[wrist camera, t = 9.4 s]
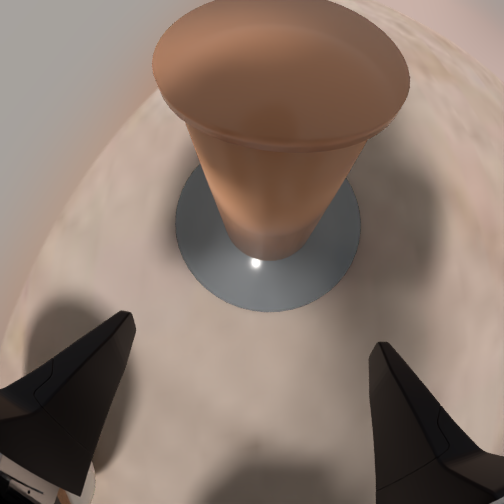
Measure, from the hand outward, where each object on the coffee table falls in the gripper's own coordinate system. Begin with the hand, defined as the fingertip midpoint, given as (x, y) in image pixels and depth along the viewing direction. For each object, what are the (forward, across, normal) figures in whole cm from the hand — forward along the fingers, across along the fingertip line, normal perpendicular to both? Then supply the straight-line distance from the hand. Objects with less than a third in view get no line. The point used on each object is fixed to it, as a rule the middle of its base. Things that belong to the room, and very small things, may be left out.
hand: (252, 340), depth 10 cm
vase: (+10, 0, 0) cm, 10 cm away
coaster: (+10, 0, 0) cm, 10 cm away
